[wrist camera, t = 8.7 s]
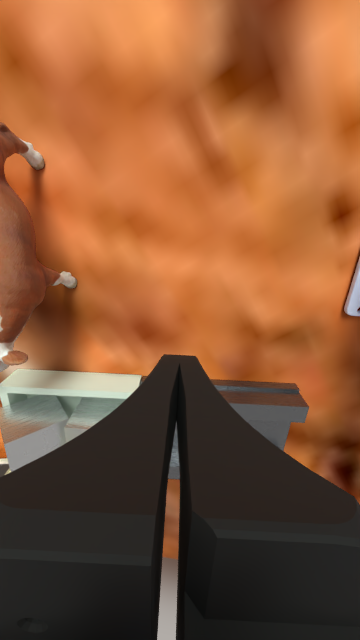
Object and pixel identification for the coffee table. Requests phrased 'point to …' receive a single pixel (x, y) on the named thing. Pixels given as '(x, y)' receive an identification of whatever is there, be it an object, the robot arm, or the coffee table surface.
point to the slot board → (257, 410)
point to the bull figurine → (19, 256)
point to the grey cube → (89, 414)
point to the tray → (66, 386)
